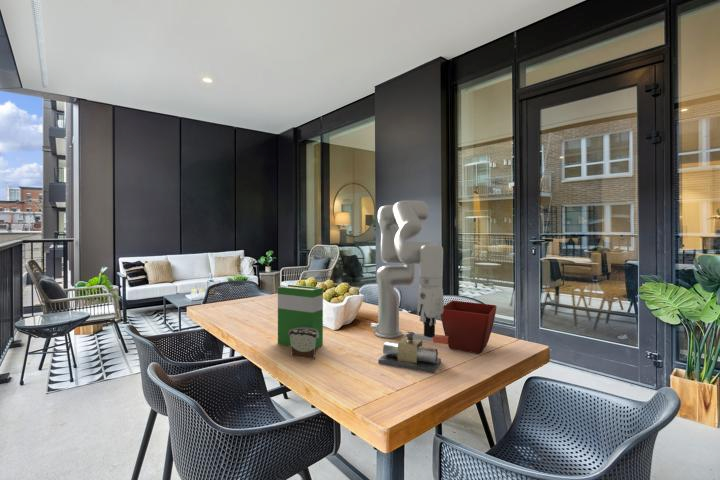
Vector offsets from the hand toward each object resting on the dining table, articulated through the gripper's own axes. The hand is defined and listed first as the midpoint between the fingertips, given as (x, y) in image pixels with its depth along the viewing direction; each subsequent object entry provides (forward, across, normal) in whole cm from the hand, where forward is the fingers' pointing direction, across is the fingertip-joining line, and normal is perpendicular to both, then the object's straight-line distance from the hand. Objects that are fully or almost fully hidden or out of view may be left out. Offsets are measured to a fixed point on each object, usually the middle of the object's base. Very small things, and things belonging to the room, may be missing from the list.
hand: (429, 336), depth 120 cm
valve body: (+13, +4, +10) cm, 17 cm away
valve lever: (+4, +6, +4) cm, 8 cm away
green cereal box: (+14, -7, +56) cm, 59 cm away
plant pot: (+14, +35, +1) cm, 38 cm away
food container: (+14, -15, +44) cm, 49 cm away
